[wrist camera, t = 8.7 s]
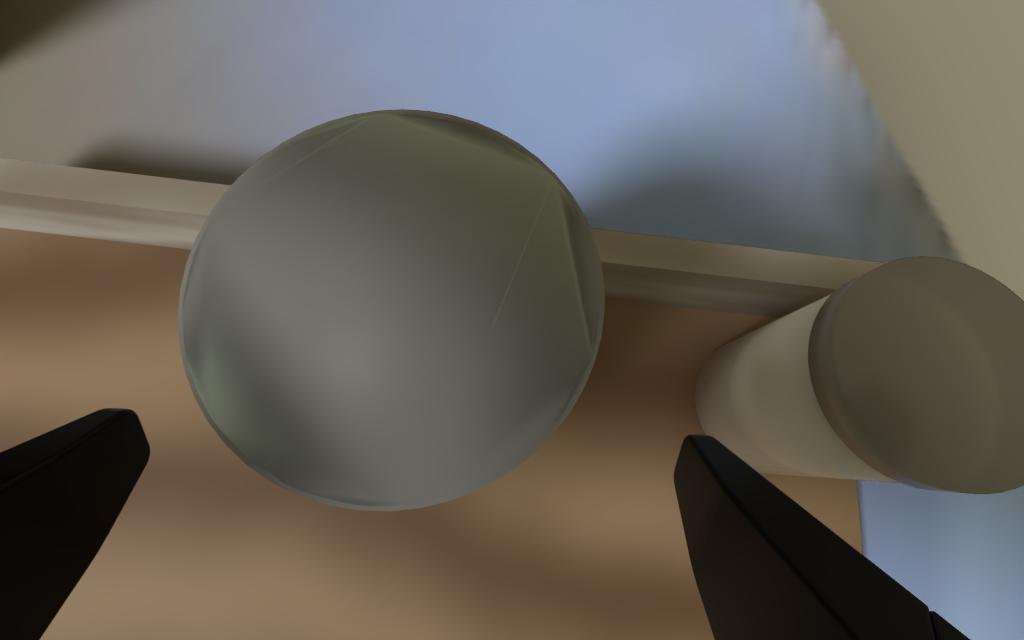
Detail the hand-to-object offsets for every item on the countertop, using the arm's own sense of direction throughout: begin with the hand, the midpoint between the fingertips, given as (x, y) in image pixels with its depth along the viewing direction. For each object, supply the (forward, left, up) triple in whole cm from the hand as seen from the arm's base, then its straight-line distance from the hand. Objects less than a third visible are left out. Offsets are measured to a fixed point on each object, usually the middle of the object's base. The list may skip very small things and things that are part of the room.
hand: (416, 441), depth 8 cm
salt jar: (+3, -10, -7) cm, 12 cm away
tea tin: (+2, 0, -7) cm, 7 cm away
